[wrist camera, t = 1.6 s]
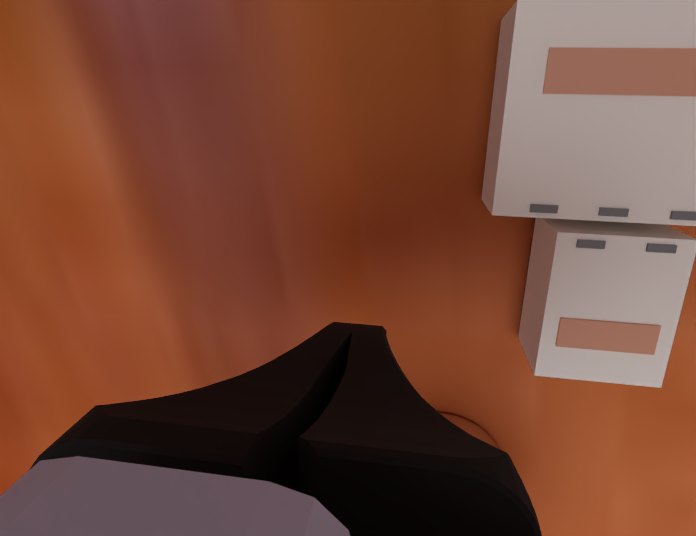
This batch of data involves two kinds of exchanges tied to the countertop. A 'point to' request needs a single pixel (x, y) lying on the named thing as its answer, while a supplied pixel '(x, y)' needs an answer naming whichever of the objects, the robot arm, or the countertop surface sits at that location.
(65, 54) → the countertop surface
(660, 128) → the white striped box
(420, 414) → the robot arm
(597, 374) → the stub
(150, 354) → the countertop surface
